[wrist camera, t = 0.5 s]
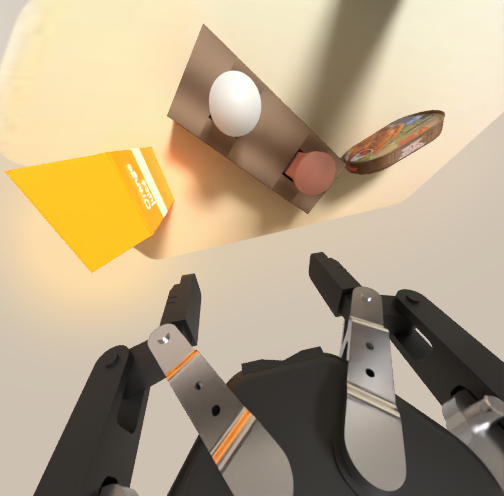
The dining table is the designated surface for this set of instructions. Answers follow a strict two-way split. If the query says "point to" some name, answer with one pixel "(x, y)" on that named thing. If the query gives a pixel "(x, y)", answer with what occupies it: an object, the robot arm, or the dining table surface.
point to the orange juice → (99, 200)
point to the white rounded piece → (234, 103)
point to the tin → (394, 142)
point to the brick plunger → (311, 172)
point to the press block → (263, 134)
